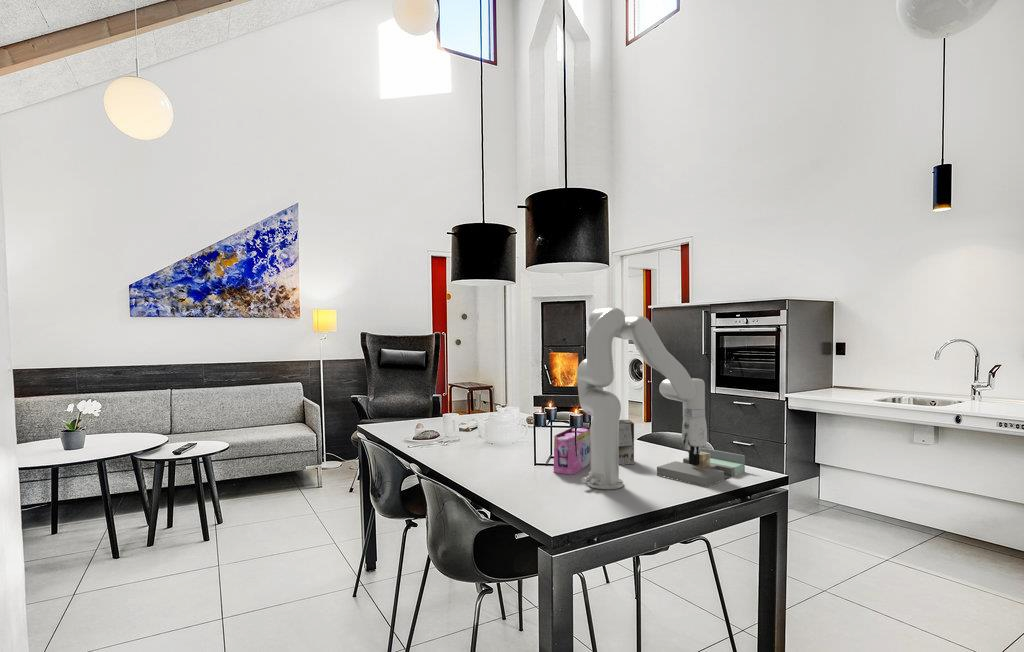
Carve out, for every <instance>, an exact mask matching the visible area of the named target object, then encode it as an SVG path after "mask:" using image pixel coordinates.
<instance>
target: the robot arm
mask: <svg viewBox="0 0 1024 652" xmlns="http://www.w3.org/2000/svg"><path fill="white" fill-rule="evenodd" d="M588 326H590V329H589V331H588V333H587V336H586V342H585V344H586V345H585V346H586V347H585V349H586V358H585V359H583V360H582V361H581V362H580V363H579V365H578V366H577V372H576V381H577V382H576V383H577V391H578V399H579V405H580V408H581V409H582V411H583V412H584V413H586V414H587V415H589V416H592V419H591V423H590V464H589V466H590V467H589V468H590V469H589V471H588V475H587V476H583V477H582V478H581V482H582V484H586V485H587V486H588V487H590V488H593V489H597V490H617V489H620V488H623V487H624V481H623V480H622V479H620V478H619V477H620V476H619V474H620V471H619V469H620V468H619V467H620V465H619V439H618V431H619V420H621V419H620V418H621V412H622V403H621V402H620V399H619V397H618V396H617V395H616V394H615V393H613V392H610V391H608V390H604V388H607V387H609V386H610V385H611V384H612V383H613V382H614V379H615V372H614V371H615V370H614V363H613V361H614V360H613V350H612V346H613V339H614V338H616V339H617V338H618V339H622V340H627V341H628V340H631V341H632V344H633V345H634V346H635V348H636V350H637V351H638V352H639V355H640V356H641V358H642V359H643V361H644V363H645V364H647V366H649V367H651V368H652V369H654V370H656V371H657V372H659V373H660V374H661V375H662V376H664V377H665V379H664V380H662V381H661V383H660V384H659V393H660V395H662V397H664V398H666V399H668V400H673V401H677V402H682V424H681V425H682V426H681V443H682V445H684V450H687V453H688V457H689V464H691V465H696V466H697V465H699V454H698V453H700V448H703V446H704V445H706V444H707V443H708V427H707V420H706V406H705V405H706V392H705V391H706V385H705V381H704V379H701V378H695V377H692V378H691V375H690V374H689V372H688V371H687V369H686V368H685V367H684V365H682V363H680V362H679V360H677V359H676V358H675V356H674V355H672V353H670V352H669V351H668V350H667V348H666V347H665V345H664V343H663V342H662V340H661V338H660V336H659V334H658V333H657V331H656V329H655V327H654V326H653V324H652V323H651V321H650V320H649V319H648V318H647V317H645V316H642V315H631V316H629V315H626V314H625V313H624V311H623V309H620V308H618V307H615V306H614V307H613V306H611V307H604V308H603V307H602V308H596V309H594V310H593V311H591V312H590V315H588Z"/></svg>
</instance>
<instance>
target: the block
mask: <svg viewBox="0 0 1024 652" xmlns="http://www.w3.org/2000/svg"><path fill="white" fill-rule="evenodd" d="M698 454H699V465H697V466H698V467H702V468H704V467H708V466H710V453H706V452H700V453H698ZM693 466H696V465H693Z"/></svg>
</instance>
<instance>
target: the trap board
mask: <svg viewBox="0 0 1024 652" xmlns="http://www.w3.org/2000/svg"><path fill="white" fill-rule="evenodd" d="M700 452H706V453H710V466H708V467H704V468H702V467H698V466H693V465H691V464H689V456H688V457H684V458H683V459H682V461H683V462H682V461H681V462H680V461H677V460H675V461H672V462H669V463H665V464H663V465H658V466H656V476H658V475H660V476H659V477H662V476H665V477H664V478H666V477H669V478H668V479H671V478H673V479H672V480H675V479H678V480H677V481H679V480H682V481H681V482H683V481H686V482H685V483H688V482H690V483H689V484H692V483H694V484H693V485H696V484H698V485H697V486H700V485H703V486H702V487H705V486H707V487H710V486H712V485H711V484H713V485H715V484H717V483H716V482H718V483H720V482H722V480H723V481H725V480H727V478H728V479H730V478H732V477H731V476H733V477H735V476H737V475H736V474H738V475H740V474H742V472H743V473H745V471H746V467H745V460H746V457H745V455H743V454H738V453H734V452H727V451H722V450H716V449H712V448H711V449H710V448H704V447H701V448H700ZM739 473H740V474H739ZM734 475H735V476H734ZM729 477H730V478H729ZM724 479H725V480H724ZM719 481H720V482H719ZM714 483H715V484H714ZM709 485H710V486H709Z"/></svg>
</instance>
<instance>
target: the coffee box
mask: <svg viewBox="0 0 1024 652" xmlns="http://www.w3.org/2000/svg"><path fill="white" fill-rule="evenodd" d="M618 439H619V464H634V465H635V423H634V422H632V420H630V419H619V431H618Z"/></svg>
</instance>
